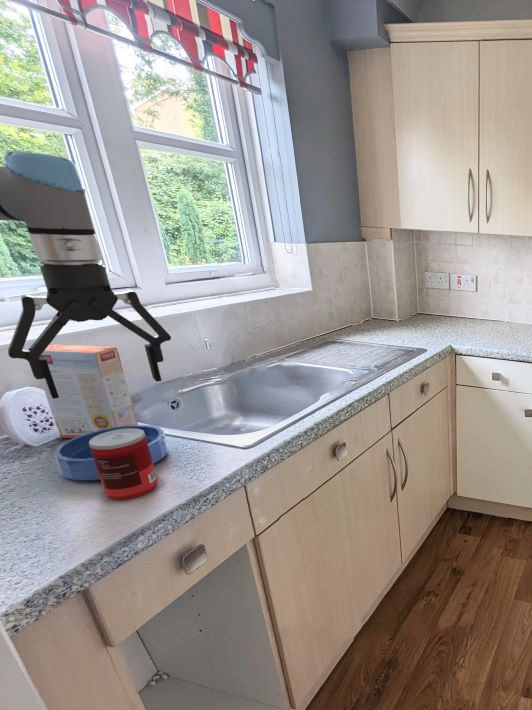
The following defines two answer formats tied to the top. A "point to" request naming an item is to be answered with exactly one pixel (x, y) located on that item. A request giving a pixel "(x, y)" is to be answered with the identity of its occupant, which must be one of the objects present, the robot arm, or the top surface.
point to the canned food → (124, 463)
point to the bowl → (79, 458)
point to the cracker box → (87, 389)
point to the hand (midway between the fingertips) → (109, 387)
